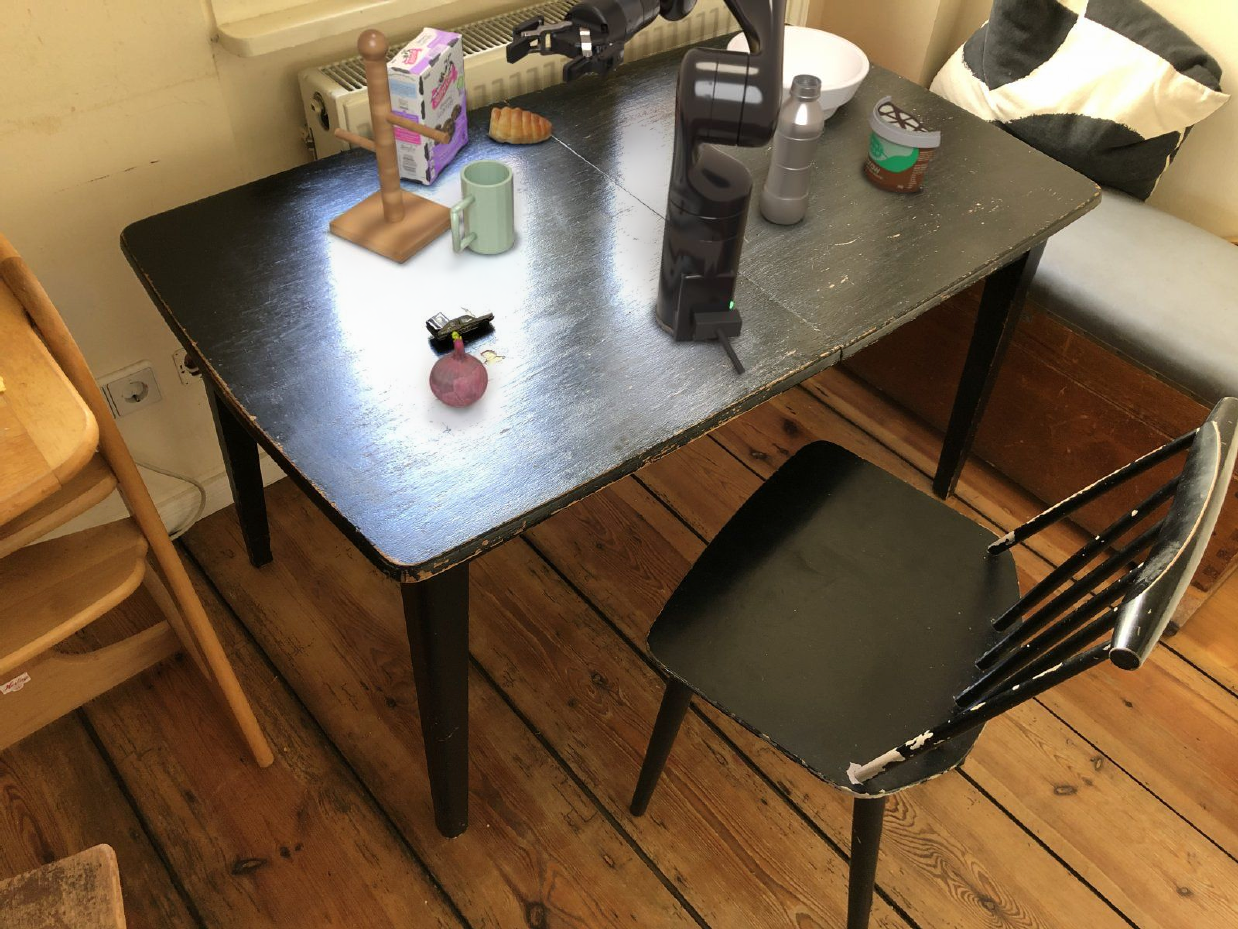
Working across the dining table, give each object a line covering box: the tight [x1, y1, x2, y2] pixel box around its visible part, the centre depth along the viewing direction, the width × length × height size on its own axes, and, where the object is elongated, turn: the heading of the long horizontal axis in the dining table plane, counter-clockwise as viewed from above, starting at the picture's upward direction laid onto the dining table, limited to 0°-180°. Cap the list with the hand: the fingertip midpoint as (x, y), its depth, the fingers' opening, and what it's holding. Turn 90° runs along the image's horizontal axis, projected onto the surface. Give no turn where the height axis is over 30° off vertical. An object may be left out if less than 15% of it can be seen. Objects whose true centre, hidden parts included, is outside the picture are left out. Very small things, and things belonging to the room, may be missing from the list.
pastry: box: [488, 106, 553, 145], centre depth 151 cm, size 9×7×4 cm
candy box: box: [386, 26, 470, 186], centre depth 140 cm, size 14×6×16 cm, turn 162°
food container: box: [864, 94, 942, 193], centre depth 146 cm, size 12×6×10 cm, turn 27°
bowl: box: [726, 25, 870, 121], centre depth 161 cm, size 22×22×8 cm
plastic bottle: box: [759, 74, 825, 226], centre depth 134 cm, size 6×7×20 cm
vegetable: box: [428, 331, 489, 408], centre depth 108 cm, size 6×6×10 cm
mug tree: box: [328, 28, 460, 264], centre depth 124 cm, size 18×12×26 cm, turn 59°
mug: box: [450, 158, 516, 255], centre depth 128 cm, size 11×6×10 cm, turn 149°
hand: (536, 65), depth 126 cm, fingers open, 8 cm apart
